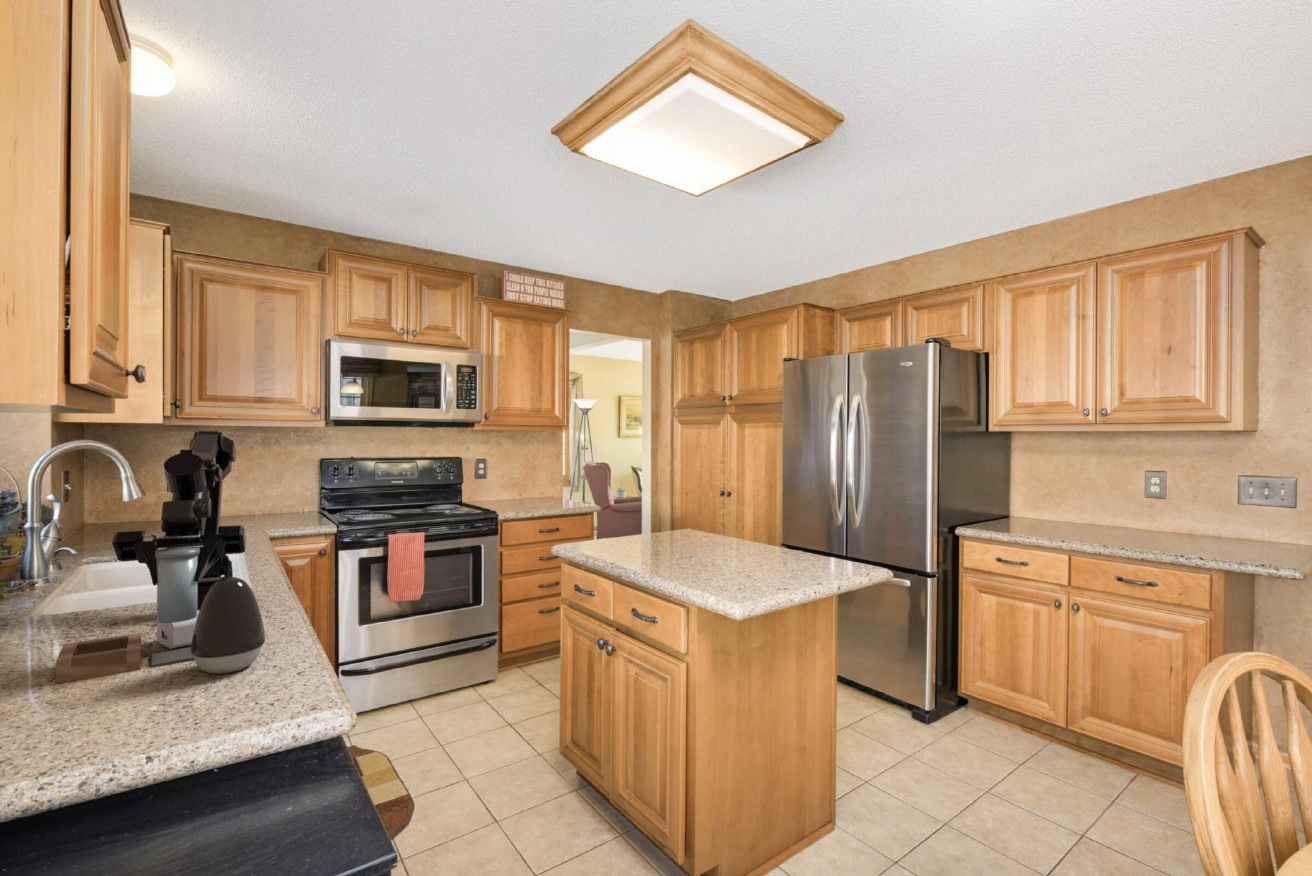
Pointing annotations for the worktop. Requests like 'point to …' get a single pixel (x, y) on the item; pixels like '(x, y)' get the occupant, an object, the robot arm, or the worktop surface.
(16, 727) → the worktop surface
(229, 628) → the dark egg-shaped device
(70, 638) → the worktop surface
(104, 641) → the block
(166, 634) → the charger
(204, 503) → the robot arm
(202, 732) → the worktop surface
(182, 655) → the rubber mat
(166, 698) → the worktop surface
